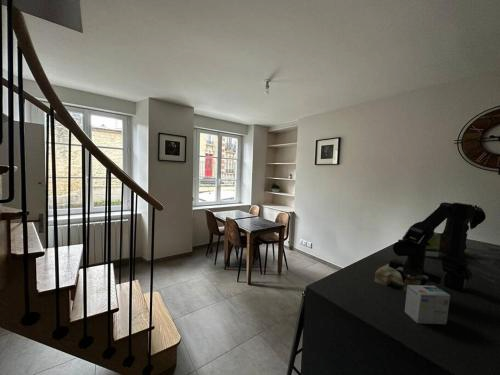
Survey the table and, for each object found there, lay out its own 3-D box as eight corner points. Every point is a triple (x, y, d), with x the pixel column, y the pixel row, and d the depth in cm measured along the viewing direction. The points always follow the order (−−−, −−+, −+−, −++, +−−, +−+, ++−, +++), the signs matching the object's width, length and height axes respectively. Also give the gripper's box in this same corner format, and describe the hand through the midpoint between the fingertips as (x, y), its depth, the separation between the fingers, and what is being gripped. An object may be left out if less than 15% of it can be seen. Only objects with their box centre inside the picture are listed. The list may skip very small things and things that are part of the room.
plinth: (414, 277, 110) (415, 271, 110) (404, 285, 102) (405, 278, 102) (388, 268, 120) (388, 262, 120) (376, 274, 111) (377, 268, 111)
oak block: (390, 283, 103) (391, 273, 103) (385, 286, 100) (387, 275, 100) (379, 278, 107) (380, 268, 107) (374, 281, 104) (375, 271, 104)
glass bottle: (469, 254, 151) (475, 214, 149) (458, 258, 142) (464, 216, 140) (437, 246, 166) (442, 209, 164) (426, 249, 158) (431, 210, 155)
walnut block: (420, 292, 96) (422, 281, 96) (417, 295, 93) (418, 284, 93) (407, 287, 100) (408, 276, 100) (403, 290, 97) (404, 279, 97)
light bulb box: (430, 312, 82) (434, 284, 82) (447, 325, 76) (451, 295, 75) (403, 311, 82) (406, 283, 81) (417, 324, 75) (421, 294, 74)
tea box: (427, 252, 152) (430, 231, 150) (438, 257, 142) (441, 235, 140) (404, 249, 153) (407, 229, 152) (413, 255, 143) (416, 233, 142)
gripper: (385, 251, 98) (381, 284, 99) (439, 267, 83) (433, 306, 85) (395, 247, 105) (391, 278, 106) (446, 261, 90) (441, 297, 91)
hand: (412, 289), depth 97 cm, fingers closed on walnut block, 5 cm apart
